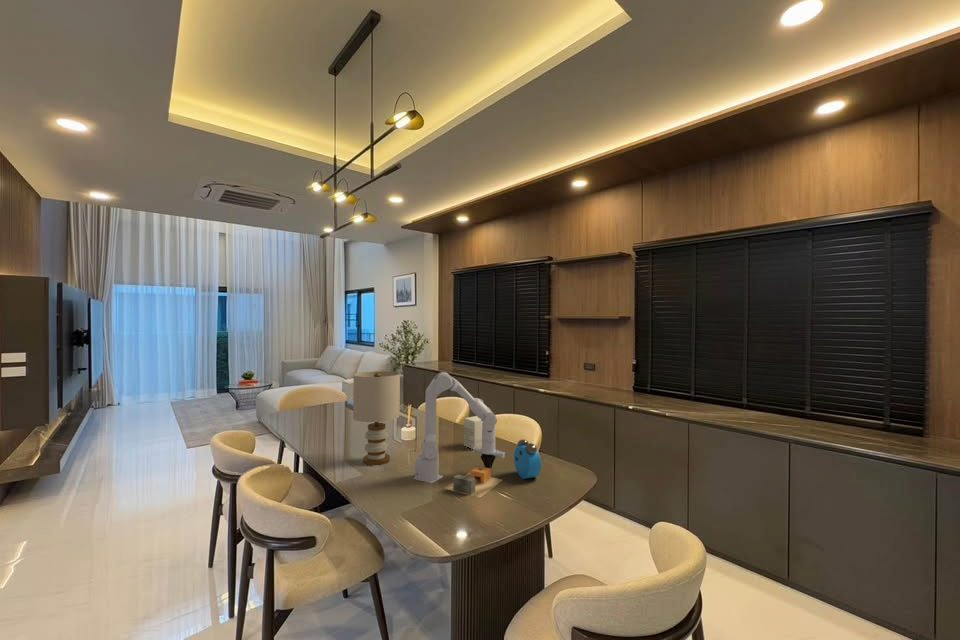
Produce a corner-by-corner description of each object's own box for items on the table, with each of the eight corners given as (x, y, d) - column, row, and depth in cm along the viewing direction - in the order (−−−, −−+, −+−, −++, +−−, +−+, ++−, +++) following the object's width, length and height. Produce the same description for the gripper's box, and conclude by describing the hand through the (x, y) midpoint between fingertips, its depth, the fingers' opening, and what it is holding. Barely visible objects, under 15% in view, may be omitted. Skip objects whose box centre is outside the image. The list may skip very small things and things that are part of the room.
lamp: (372, 473, 167) (372, 377, 168) (343, 462, 180) (344, 373, 180) (408, 459, 184) (409, 372, 185) (380, 450, 197) (380, 369, 197)
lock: (471, 480, 159) (471, 469, 159) (478, 475, 165) (478, 464, 165) (483, 483, 156) (483, 471, 156) (490, 478, 162) (491, 467, 162)
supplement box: (477, 443, 210) (477, 415, 211) (487, 447, 204) (488, 418, 204) (463, 446, 205) (463, 417, 205) (474, 450, 198) (474, 421, 198)
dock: (444, 489, 151) (444, 475, 152) (469, 473, 168) (469, 460, 168) (479, 498, 144) (479, 484, 144) (502, 480, 160) (502, 467, 160)
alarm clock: (541, 482, 159) (541, 445, 159) (528, 484, 157) (528, 446, 157) (525, 470, 171) (525, 436, 171) (512, 472, 169) (513, 438, 169)
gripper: (508, 439, 166) (507, 472, 166) (478, 434, 173) (478, 465, 173) (500, 444, 160) (500, 477, 160) (470, 439, 167) (470, 470, 167)
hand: (488, 471), depth 166 cm, fingers closed
